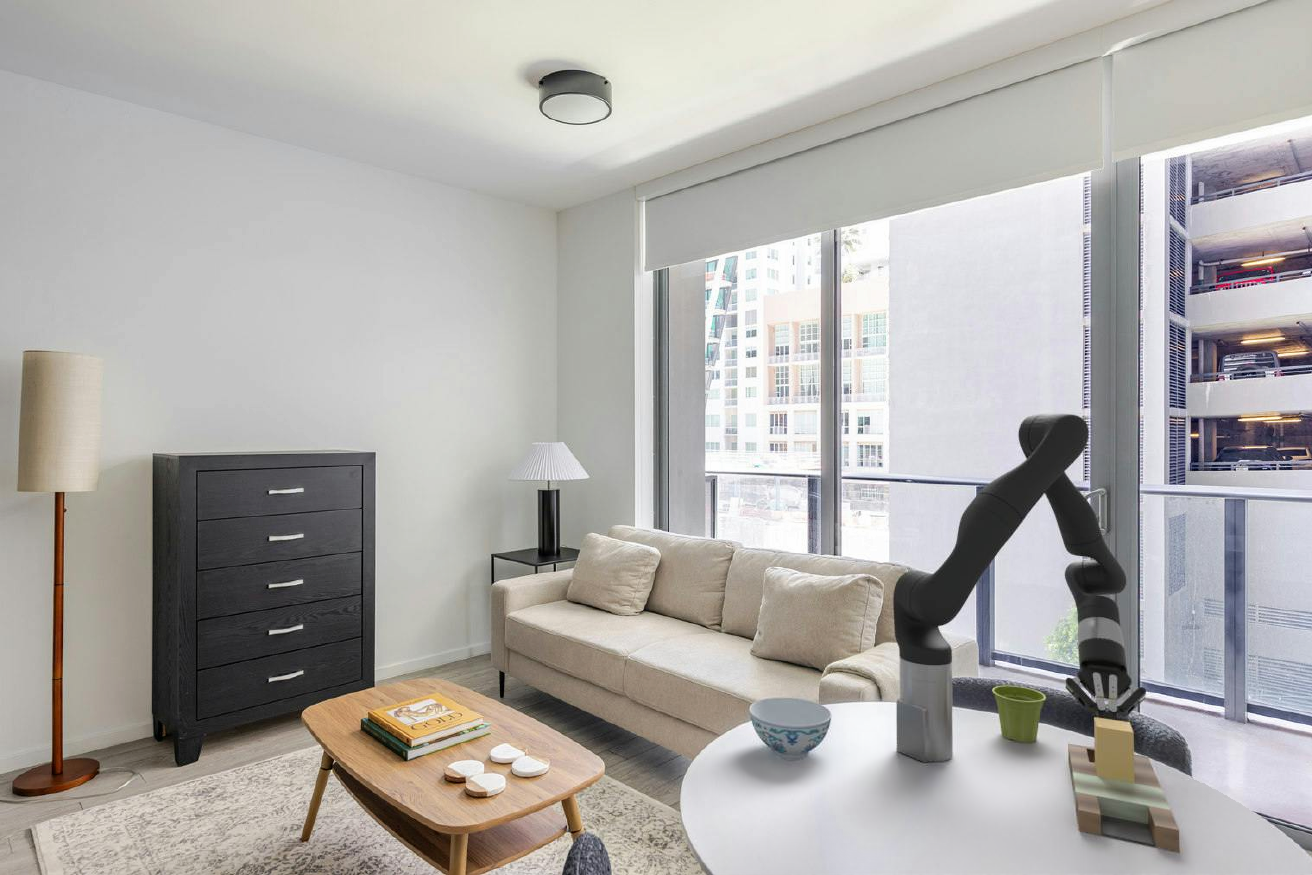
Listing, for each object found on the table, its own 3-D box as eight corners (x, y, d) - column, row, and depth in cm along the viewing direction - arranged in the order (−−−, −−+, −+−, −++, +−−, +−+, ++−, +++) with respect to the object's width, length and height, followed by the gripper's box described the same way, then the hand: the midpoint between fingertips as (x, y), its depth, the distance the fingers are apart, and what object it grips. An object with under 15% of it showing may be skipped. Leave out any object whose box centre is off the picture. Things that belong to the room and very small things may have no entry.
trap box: (1068, 760, 128) (1068, 743, 128) (1148, 774, 122) (1147, 756, 122) (1078, 830, 103) (1078, 809, 103) (1179, 852, 98) (1179, 830, 98)
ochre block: (1094, 764, 119) (1094, 717, 119) (1130, 771, 116) (1129, 722, 117) (1097, 776, 114) (1096, 726, 115) (1134, 783, 112) (1133, 732, 112)
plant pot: (1056, 747, 134) (1055, 701, 134) (1006, 746, 134) (1006, 700, 134) (1030, 728, 143) (1030, 685, 143) (984, 728, 143) (983, 685, 144)
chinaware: (802, 732, 140) (802, 693, 140) (848, 762, 126) (848, 719, 126) (735, 743, 135) (735, 702, 135) (775, 775, 121) (775, 730, 121)
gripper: (1061, 632, 134) (1065, 717, 123) (1144, 640, 128) (1157, 731, 117) (1060, 653, 139) (1064, 737, 127) (1141, 663, 133) (1152, 752, 121)
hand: (1108, 734), depth 122 cm, fingers closed
